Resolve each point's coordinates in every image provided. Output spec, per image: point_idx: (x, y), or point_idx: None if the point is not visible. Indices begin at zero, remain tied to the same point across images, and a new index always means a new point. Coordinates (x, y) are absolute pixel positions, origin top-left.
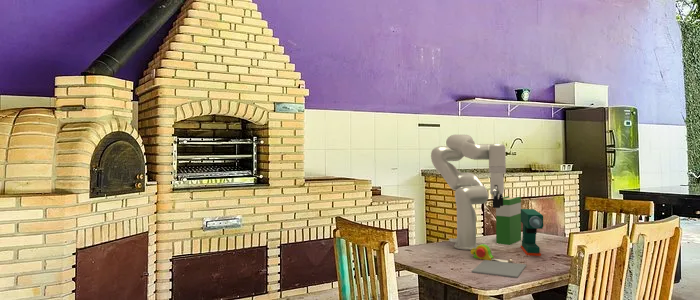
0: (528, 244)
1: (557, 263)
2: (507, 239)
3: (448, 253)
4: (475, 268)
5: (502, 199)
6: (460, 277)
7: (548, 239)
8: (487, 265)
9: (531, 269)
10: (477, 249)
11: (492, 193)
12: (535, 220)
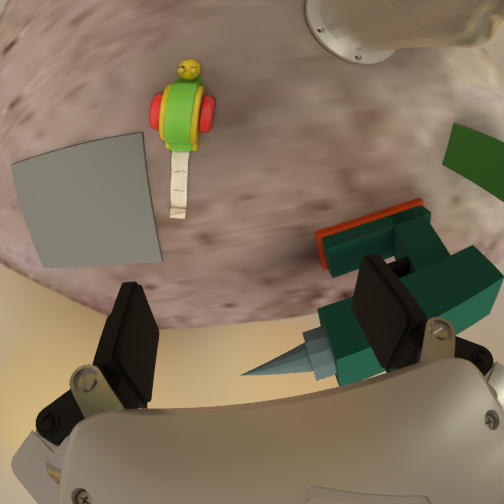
0: (374, 241)
1: (243, 311)
2: (455, 163)
3: None
4: (31, 160)
5: (376, 355)
6: None
7: (491, 244)
8: (77, 173)
9: (134, 276)
10: (155, 98)
11: (303, 406)
12: (294, 367)
